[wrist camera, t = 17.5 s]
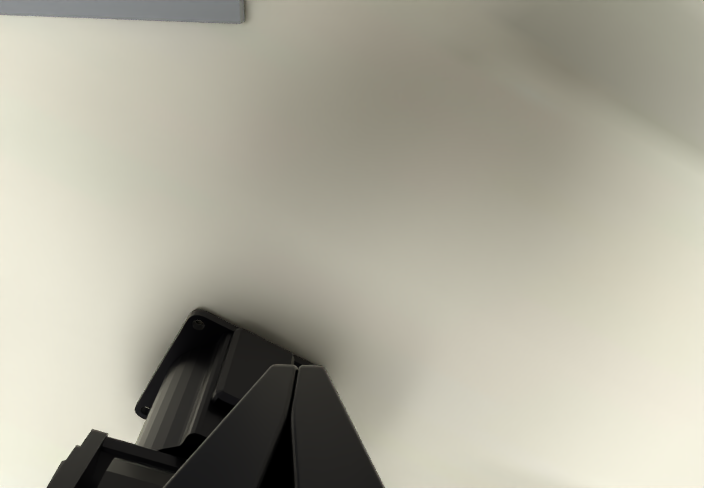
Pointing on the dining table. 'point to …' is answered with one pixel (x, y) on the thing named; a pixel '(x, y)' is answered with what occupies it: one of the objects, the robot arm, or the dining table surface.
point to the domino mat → (131, 9)
